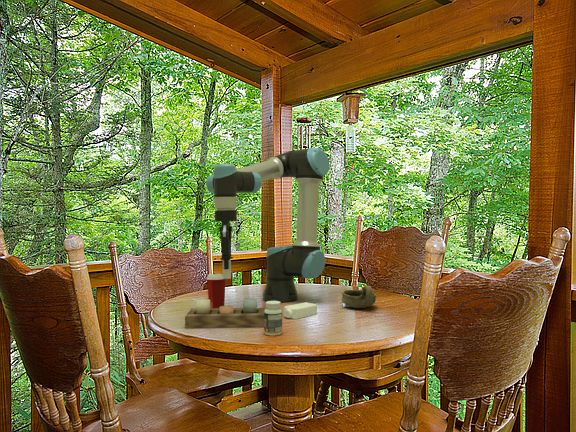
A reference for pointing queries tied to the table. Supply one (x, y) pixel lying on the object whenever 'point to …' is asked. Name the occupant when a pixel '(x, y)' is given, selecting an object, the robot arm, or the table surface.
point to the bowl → (359, 297)
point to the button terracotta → (226, 310)
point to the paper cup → (216, 290)
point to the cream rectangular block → (300, 310)
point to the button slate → (249, 305)
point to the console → (225, 319)
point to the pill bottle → (273, 318)
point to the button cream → (203, 306)
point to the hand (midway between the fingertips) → (227, 278)
